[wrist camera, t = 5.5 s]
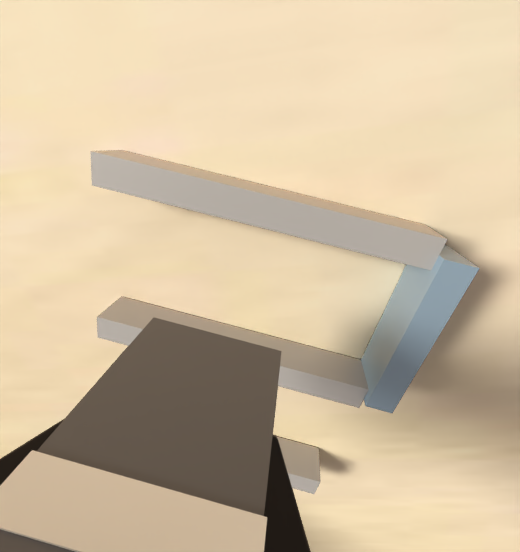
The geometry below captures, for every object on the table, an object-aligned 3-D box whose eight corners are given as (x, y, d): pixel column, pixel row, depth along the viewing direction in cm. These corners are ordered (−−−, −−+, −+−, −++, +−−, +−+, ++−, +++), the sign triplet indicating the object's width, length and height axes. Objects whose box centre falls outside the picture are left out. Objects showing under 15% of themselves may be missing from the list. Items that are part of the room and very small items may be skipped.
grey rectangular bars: (331, 464, 23) (335, 507, 20) (120, 406, 24) (96, 440, 21) (454, 231, 15) (489, 251, 12) (122, 150, 15) (83, 151, 12)
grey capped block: (255, 438, 10) (203, 756, 5) (146, 408, 11) (-21, 686, 5) (283, 350, 9) (250, 693, 3) (152, 315, 9) (-93, 589, 3)
